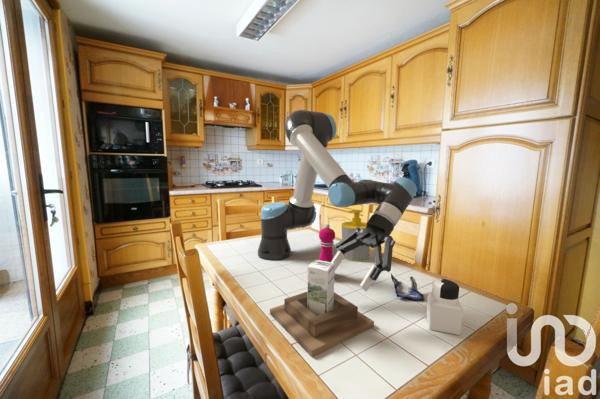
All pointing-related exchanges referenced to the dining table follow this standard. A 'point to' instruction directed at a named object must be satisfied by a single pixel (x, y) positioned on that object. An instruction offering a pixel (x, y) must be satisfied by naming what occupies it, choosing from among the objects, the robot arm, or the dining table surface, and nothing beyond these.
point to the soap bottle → (361, 251)
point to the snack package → (411, 290)
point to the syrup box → (320, 287)
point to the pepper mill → (326, 244)
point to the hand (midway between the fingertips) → (345, 279)
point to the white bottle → (444, 307)
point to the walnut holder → (320, 323)
